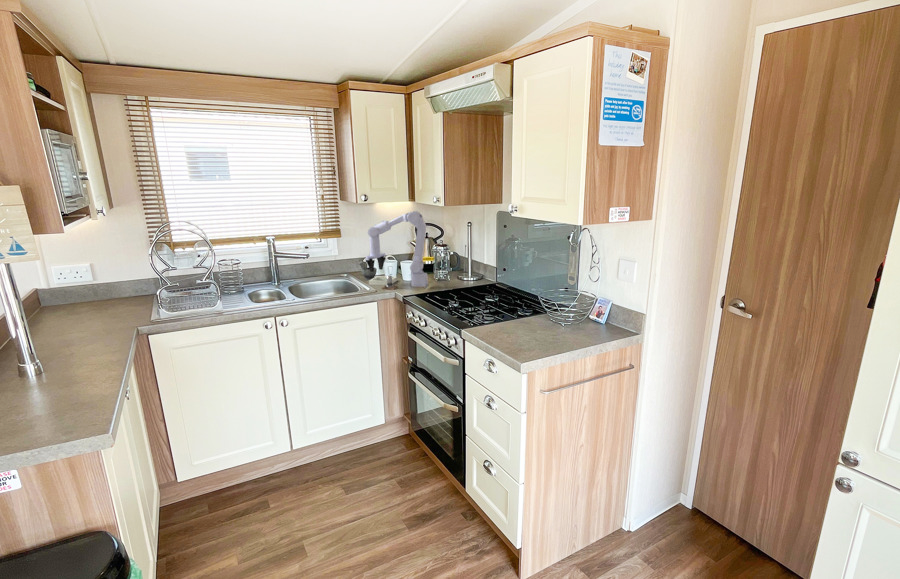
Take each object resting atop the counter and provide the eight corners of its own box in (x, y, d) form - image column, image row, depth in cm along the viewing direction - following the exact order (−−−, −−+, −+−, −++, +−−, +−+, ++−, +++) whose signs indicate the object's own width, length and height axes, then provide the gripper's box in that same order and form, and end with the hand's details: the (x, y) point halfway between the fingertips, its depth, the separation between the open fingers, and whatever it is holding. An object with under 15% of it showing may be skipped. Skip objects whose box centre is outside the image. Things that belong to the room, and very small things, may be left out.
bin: (397, 282, 273) (397, 276, 272) (390, 287, 261) (389, 281, 260) (377, 281, 276) (376, 276, 275) (369, 286, 263) (368, 280, 262)
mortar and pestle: (375, 277, 290) (374, 259, 287) (378, 279, 282) (377, 261, 279) (358, 278, 286) (357, 260, 283) (361, 281, 277) (360, 262, 275)
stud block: (400, 288, 257) (400, 284, 256) (395, 292, 247) (395, 288, 247) (384, 288, 259) (384, 284, 258) (378, 292, 249) (378, 288, 249)
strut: (394, 287, 254) (393, 275, 253) (391, 288, 250) (391, 276, 249) (387, 287, 255) (387, 275, 253) (385, 288, 251) (384, 276, 250)
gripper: (378, 245, 264) (379, 267, 267) (361, 248, 252) (362, 272, 256) (387, 246, 260) (388, 268, 263) (370, 249, 249) (371, 273, 252)
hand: (376, 270), depth 259 cm, fingers open, 7 cm apart
